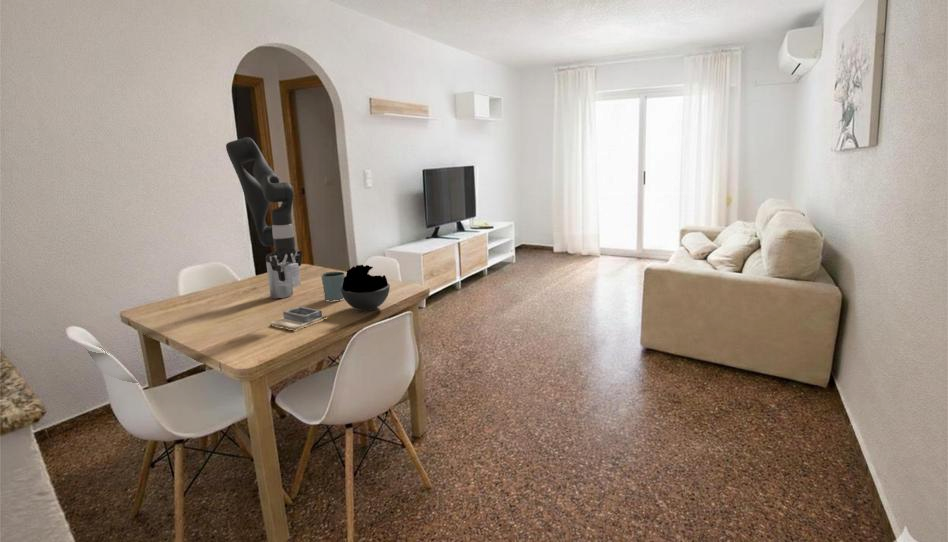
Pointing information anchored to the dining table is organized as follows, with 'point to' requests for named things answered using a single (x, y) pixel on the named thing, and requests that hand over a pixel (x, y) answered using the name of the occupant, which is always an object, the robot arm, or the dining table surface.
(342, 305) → the dining table surface
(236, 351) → the dining table surface
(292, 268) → the medicine box
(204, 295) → the dining table surface
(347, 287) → the coal bowl
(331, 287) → the teal cup
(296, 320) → the jig
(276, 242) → the robot arm
